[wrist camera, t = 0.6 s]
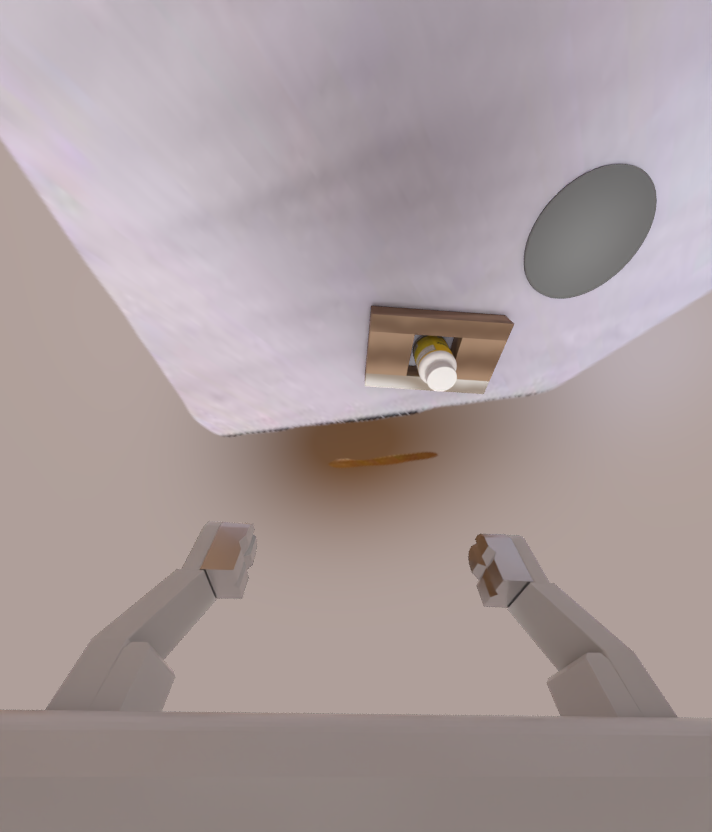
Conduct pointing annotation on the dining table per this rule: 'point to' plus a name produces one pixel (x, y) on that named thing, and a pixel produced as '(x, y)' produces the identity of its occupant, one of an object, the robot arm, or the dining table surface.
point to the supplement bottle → (435, 362)
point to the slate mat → (590, 231)
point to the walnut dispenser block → (396, 328)
